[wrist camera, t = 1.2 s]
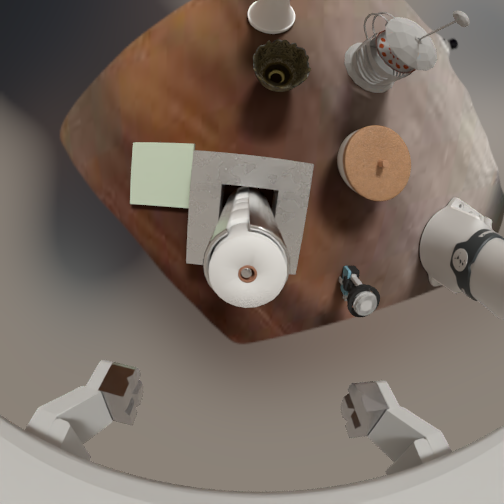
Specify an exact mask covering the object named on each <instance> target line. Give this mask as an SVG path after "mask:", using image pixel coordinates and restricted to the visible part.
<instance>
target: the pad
mask: <svg viewBox="0 0 504 504" xmlns="http://www.w3.org/2000/svg"><path fill="white" fill-rule="evenodd" d="M193 151H195V144H184V143H142V142H138V143H133V152H132V167H131V189H130V204H139V205H153V206H166V207H178V208H189V197H190V184H191V172H192V161H193Z"/></svg>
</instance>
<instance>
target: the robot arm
mask: <svg viewBox="0 0 504 504" xmlns="http://www.w3.org/2000/svg"><path fill="white" fill-rule="evenodd" d="M459 205H460V206H459ZM491 223H492V220H491V219H489V218H487V217H485V216H482V215H481V214H480V213H478V212H477V211H476V210H474V209H473V208H472V207H470V206H469V205H468V204H466V203H465V202H463V201H462V200H461V199H459V198H457V197H454V198H452V199H451V201H450V202H449V203H448V205H447V206H446V207H445V208H443V209H441V210H440V211H438V212H437V213H436V214H435V215H434V216H433V217H432V218H431V219H430V220H429V222H428V223H427V225H426V227H425V229H424V232H423V234H422V238H421V242H420V259H421V263H422V265H423V267H424V269H425V270H426V271H427V273H428V276H429V282H430V284H431V285H432V286H441V285H443V286H444V287H446V288H447V289H449V290H450V291H451V292H453V293H455V294H456V293H460V292H463V293H464V294H465V295H466V296H468V297H469V298H471V299H473V300H475V301H479V302H480V303H481V304H482V305H484V306H485V307H486V308H487V309H488V310H489V311H490V312H492V313H493V314H494V315H495V316H496V317H497V318H499V319H502V320H504V238H503V237H502V236H500V235H499V234H498V233H496V232H494V231H493V230H492V226H491ZM139 377H140V370H139V368H136V367H132V366H128V365H124V364H120V363H116V362H111V361H108V360H105V359H103V360H101V361H100V362H99V364H98V366H97V367H96V369H95V371H94V373H93V374H92V376H91V378H90V379H89V381H88V383H87V385H86V386H81V387H79V388H77V389H75V390H73V391H71V392H69V393H67V394H65V395H63V396H61V397H59V398H57V399H55V400H53V401H51V402H49V403H47V404H45V405H43V406H40V407H39V408H38V409H37V411H36V412H35V414H34V415H33V417H32V419H31V421H30V422H29V424H28V426H27V427H26V429H25V430H24V429H22V428H21V427H19V426H17V425H15V424H14V423H12V422H11V421H9V420H7V419H6V418H4V417H3V416H1V415H0V504H504V426H502V427H500V428H498V429H496V430H494V431H492V432H491V433H489V434H487V435H485V436H484V437H482V438H480V439H478V440H476V441H475V442H472V443H470V444H468V445H466V446H464V447H462V448H460V449H458V450H455V451H453V452H452V451H451V449H450V447H449V445H448V443H447V441H446V439H445V438H444V436H443V434H442V432H441V431H440V430H438V429H437V428H435V427H433V426H432V425H430V424H429V423H427V422H426V421H424V420H422V419H421V418H419V417H418V416H416V415H414V414H413V413H412V412H410V411H409V410H407V409H406V408H404V407H400V406H399V404H398V402H397V400H396V398H395V396H394V394H393V392H392V391H391V389H390V387H389V385H388V383H387V382H386V381H384V380H382V381H374V382H373V381H372V382H360V383H352V384H351V385H350V386H349V388H348V392H349V394H347V395H346V396H345V397H344V398H343V400H342V404H341V413H342V417H343V418H344V419H345V420H346V421H347V423H346V425H345V426H346V430H347V432H348V436H349V438H355V437H362V436H367V437H368V438H369V439H370V440H371V441H372V442H373V443H374V444H375V445H376V446H377V447H379V448H380V449H381V450H382V451H383V452H384V453H385V454H386V455H387V456H388V457H389V458H390V459H391V460H392V461H394V463H393V464H392V465H391V466H390V467H389V468H388V469H387V470H386V474H387V475H385V476H382V477H378V478H373V479H369V480H365V481H360V482H355V483H350V484H345V485H339V486H332V487H325V488H317V489H307V490H296V491H276V492H246V491H226V490H215V489H205V488H196V487H190V486H183V485H177V484H171V483H166V482H161V481H156V480H152V479H147V478H143V477H140V476H136V475H132V474H129V473H125V472H121V471H118V470H115V469H112V468H109V467H106V466H103V465H100V464H97V463H94V462H92V461H90V458H91V456H90V454H89V453H88V451H87V450H86V449H85V447H84V446H83V444H84V443H86V442H87V441H88V440H90V439H91V438H92V437H94V436H95V435H96V434H98V433H99V432H100V431H101V430H103V429H104V428H105V427H106V426H108V425H109V424H110V423H112V420H113V421H116V422H120V423H124V424H129V425H133V423H134V421H135V418H136V415H137V410H136V407H137V406H138V405H140V403H141V400H142V396H143V385H142V382H141V381H140V380H139Z"/></svg>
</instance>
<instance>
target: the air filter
mask: <svg viewBox="0 0 504 504" xmlns="http://www.w3.org/2000/svg"><path fill="white" fill-rule="evenodd" d="M203 269H204V275H205V277H206V280H207V282H208V284H209V285H210V287H211V288H212V289H213V290H214V292H215V293H216V294H217V295H218V296H219V297H220V298H221V299H223V300H224V301H226V302H227V303H229V304H232V305H234V306H238V307H244V308H250V307H257V306H260V305H264V304H266V303H268V302H270V301H272V300H273V299H274V298H275V297H276V296H277V295H278V294H279V293H280V291H281V290H282V288H283V286H284V284H285V282H286V281H287V278H288V275H289V271H290V257H289V254H288V250H287V247H286V245H285V242H284V240H283V237H282V235H281V232H280V230H279V228H278V225H277V223H276V220H275V218H274V215H273V213H272V211H271V208H270V206H269V203H268V201H267V199H266V197H265V195H264V194H263V193H262V192H261V191H260V190H259V189H257V188H255V187H246V186H243V187H240V188H237V189H236V190H234V191H233V192H232V193H231V194H230V196H229V198H228V200H227V202H226V204H225V206H224V209H223V211H222V213H221V216H220V218H219V220H218V222H217V225H216V227H215V229H214V232H213V234H212V236H211V239H210V241H209V244H208V246H207V248H206V251H205V253H204V259H203Z"/></svg>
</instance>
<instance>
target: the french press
mask: <svg viewBox="0 0 504 504" xmlns="http://www.w3.org/2000/svg"><path fill="white" fill-rule="evenodd" d="M380 14H387V15H390V16H392V15H391V14H389V13H387V12H379V13H378V14H377V13H372V14H369V15H368V16H367V17H366V18H365V21H364V32H365V35H366V38H367V40H366V41H364V42H363V43H356V44H354V45H352V46H350V47H349V49H348V50H347V52H346V54H345V66H346V69H347V72H348V74H349V76H350V77H351V78H352V79H353V81H354V82H355V83H356V84H357V85H359V86H360V87H362V88H363V89H364V90H367V91H370V92H373V93H381V92H385V91H387V90H389V89H390V88H391V87H392V86H393V84H394V82H395V81H397V80H399V79H402V78H404V77H406V76H408V75H410V74H411V73H412V72H413V71H415V70H425V71H427V70H429V69H431V68H433V67H434V65H435V63H436V61H437V54H436V49H435V46H434V43H433V41H432V39H431V38H430V36H429V35H431V34H433V33H435V32H437V31H439V30H441V29H443V28H445V27H447V26H449V25H451V24H453V23H456V22H457V23H458V24H459V25H460V26H462V27H466V26H468V25H469V18H468V17H467V15H466V14H465V13H463V12H461V11H455V12H454V13H453V17H454V19H455V21H453V22H451V23H449V24H447V25H445V26H443V27H441V28H439V29H437V30H435V31H433V32H431V33H429V34H427V32H426V31H425V30H424V29H423V28H422V27H420V26H419V25H418V24H417V23H415V22H413V21H411V20H409V19H407V18H401V17H396V18H395V17H394V16H392V17H393V18H394V19H391V20H390V21H389V22H388V20H387V19H386V18H385V17H384V16H382V15H380ZM371 15H375V16H374V19H373V22H372V29H373V33H374V35H373V36H372V37H370V38H369V39H368V36H367V32H366V28H365V23H366V21H367V19H368V18H369V17H370V16H371ZM377 16H381V17H383V18H384V19H385V20H386V21H387V23H386V24H385V26H386V30H384V31H382V32H380V33H379V34H378V36H377V37H376V34H377V33H376V34H375V30H374V25H373V24H374V20H375V18H376V17H377ZM374 36H375V38H374V39H372V38H373V37H374ZM371 39H372V40H371ZM370 40H371V41H370ZM398 72H400V73H399V76H398V77H397V75H398ZM401 73H403V74H402V76H400V75H401ZM404 73H406V74H405V75H404Z"/></svg>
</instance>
